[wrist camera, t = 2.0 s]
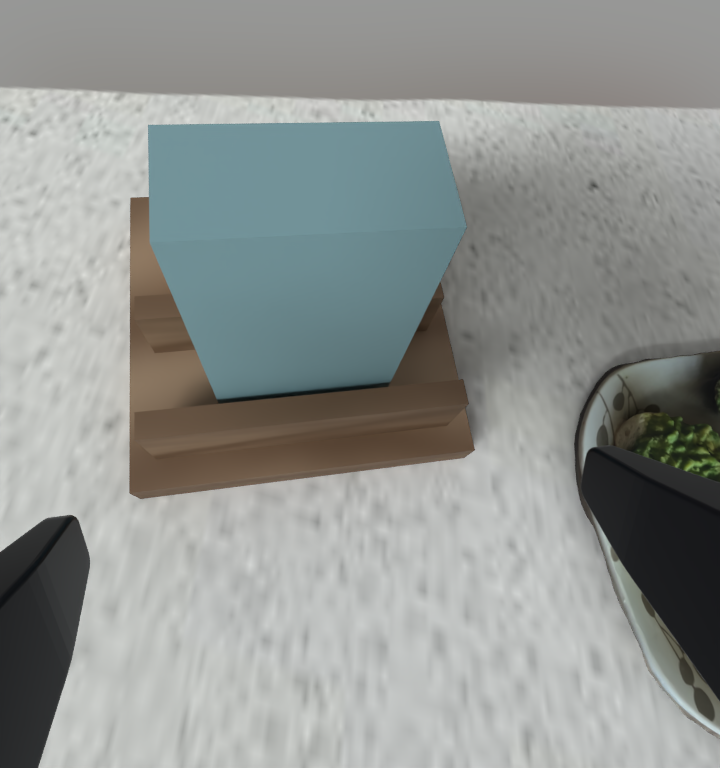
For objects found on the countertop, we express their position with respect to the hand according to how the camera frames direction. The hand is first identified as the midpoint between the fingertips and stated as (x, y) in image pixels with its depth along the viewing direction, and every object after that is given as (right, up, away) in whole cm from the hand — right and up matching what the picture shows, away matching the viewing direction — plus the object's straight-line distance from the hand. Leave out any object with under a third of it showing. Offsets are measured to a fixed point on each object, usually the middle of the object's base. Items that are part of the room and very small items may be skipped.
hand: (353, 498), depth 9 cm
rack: (-3, +4, +16) cm, 16 cm away
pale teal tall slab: (-2, +2, +13) cm, 14 cm away
